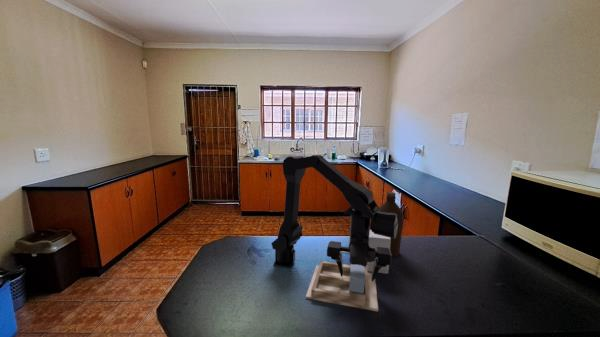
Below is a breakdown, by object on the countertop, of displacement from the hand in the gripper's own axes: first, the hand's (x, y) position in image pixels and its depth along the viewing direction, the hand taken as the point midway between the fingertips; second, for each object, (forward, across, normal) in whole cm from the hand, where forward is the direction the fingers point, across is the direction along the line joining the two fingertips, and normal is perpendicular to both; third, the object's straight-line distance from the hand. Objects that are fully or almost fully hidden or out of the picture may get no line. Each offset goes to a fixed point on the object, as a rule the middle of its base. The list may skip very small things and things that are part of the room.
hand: (356, 278), depth 74 cm
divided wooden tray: (+3, -4, 0) cm, 5 cm away
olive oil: (+3, +12, +28) cm, 31 cm away
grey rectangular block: (+3, 0, 0) cm, 3 cm away
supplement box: (+3, +7, +14) cm, 16 cm away
